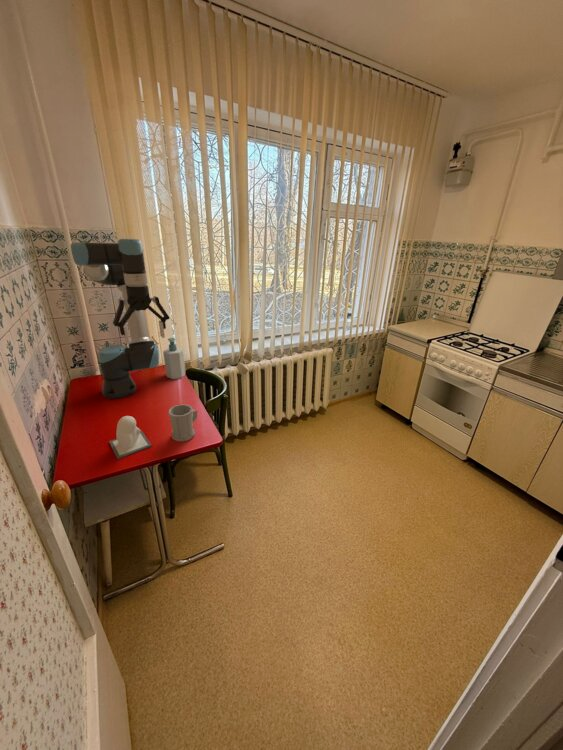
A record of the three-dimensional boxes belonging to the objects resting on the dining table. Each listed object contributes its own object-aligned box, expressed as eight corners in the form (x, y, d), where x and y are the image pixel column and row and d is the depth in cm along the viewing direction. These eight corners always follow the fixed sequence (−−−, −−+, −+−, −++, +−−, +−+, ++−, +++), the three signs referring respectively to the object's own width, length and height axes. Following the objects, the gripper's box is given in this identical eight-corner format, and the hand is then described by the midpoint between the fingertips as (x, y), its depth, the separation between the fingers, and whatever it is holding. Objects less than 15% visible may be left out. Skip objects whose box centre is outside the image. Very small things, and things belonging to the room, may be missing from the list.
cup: (177, 426, 127) (174, 401, 122) (199, 427, 127) (197, 402, 122) (168, 441, 118) (164, 415, 113) (191, 442, 118) (188, 416, 113)
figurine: (132, 450, 111) (126, 423, 106) (114, 447, 112) (107, 420, 107) (144, 439, 117) (139, 413, 112) (126, 436, 119) (121, 410, 114)
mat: (109, 442, 116) (109, 441, 116) (141, 431, 123) (141, 430, 123) (117, 459, 108) (117, 458, 107) (151, 446, 115) (151, 445, 114)
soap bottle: (167, 380, 166) (162, 342, 156) (165, 373, 173) (160, 337, 164) (186, 377, 170) (182, 340, 160) (184, 371, 177) (180, 335, 168)
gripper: (100, 289, 101) (113, 348, 110) (174, 284, 115) (179, 337, 124) (96, 285, 106) (108, 342, 115) (167, 281, 120) (173, 332, 130)
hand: (145, 339), depth 120 cm, fingers open, 13 cm apart
